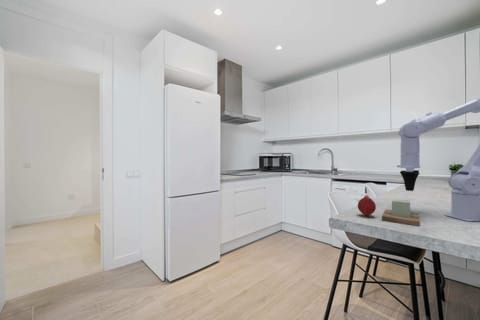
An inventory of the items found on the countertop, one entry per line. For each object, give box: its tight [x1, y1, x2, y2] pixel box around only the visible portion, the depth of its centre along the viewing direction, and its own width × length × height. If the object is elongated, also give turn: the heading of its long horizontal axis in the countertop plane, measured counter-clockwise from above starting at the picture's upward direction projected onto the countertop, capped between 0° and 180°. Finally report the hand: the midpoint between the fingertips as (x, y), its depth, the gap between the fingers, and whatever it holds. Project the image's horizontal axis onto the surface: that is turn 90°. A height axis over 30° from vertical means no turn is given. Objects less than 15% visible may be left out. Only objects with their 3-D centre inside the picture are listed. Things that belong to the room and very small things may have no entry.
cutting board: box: [381, 209, 420, 227], centre depth 76 cm, size 12×10×2 cm
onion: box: [357, 194, 377, 217], centre depth 80 cm, size 6×6×8 cm
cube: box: [391, 198, 411, 218], centre depth 76 cm, size 5×5×5 cm
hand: (409, 189), depth 83 cm, fingers open, 7 cm apart
